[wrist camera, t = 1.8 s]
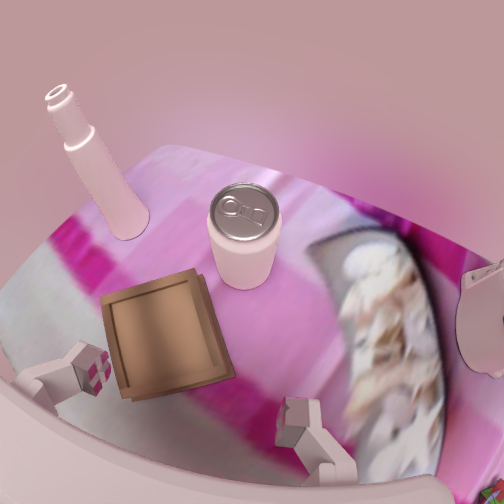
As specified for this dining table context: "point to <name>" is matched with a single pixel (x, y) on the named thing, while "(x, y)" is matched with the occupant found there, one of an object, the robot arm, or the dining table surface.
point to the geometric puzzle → (494, 494)
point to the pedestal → (164, 337)
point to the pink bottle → (96, 167)
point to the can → (244, 234)
